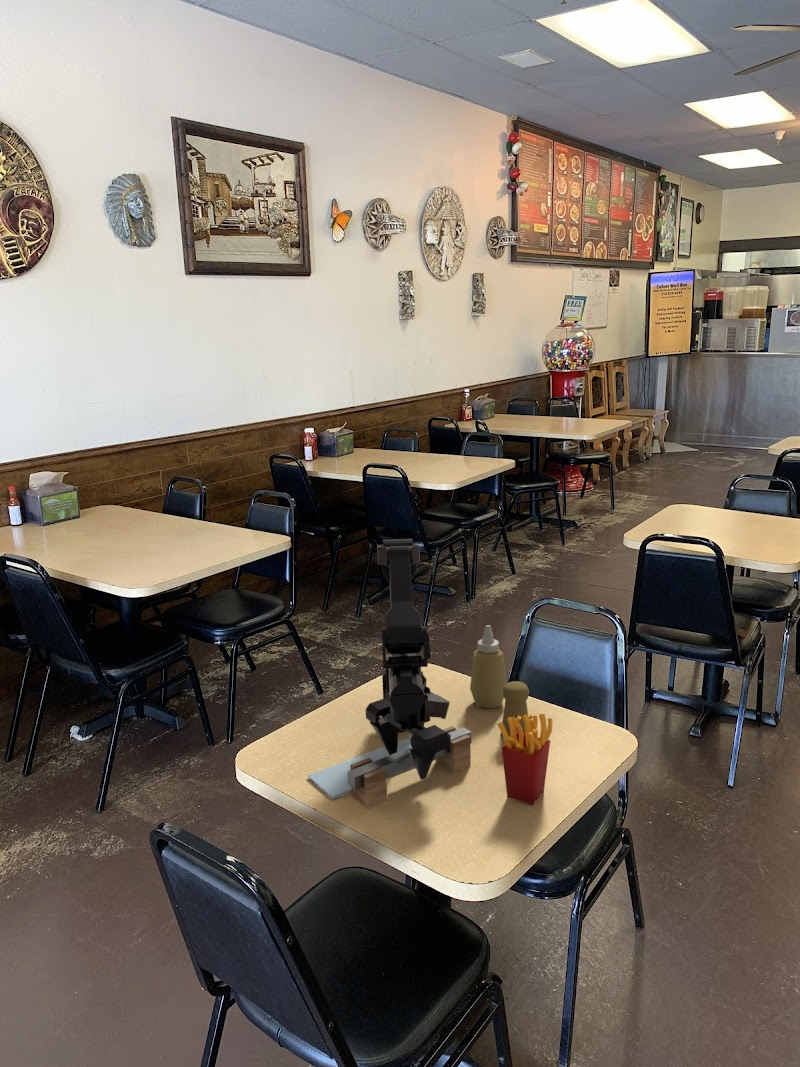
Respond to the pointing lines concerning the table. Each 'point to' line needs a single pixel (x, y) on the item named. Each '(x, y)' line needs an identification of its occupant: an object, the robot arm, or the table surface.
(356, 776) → the rail
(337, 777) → the mat
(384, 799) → the stand near
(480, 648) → the squeeze bottle
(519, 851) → the table surface
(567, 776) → the table surface
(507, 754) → the french fries
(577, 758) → the table surface
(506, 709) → the pepper mill
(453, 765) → the stand far
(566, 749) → the table surface
